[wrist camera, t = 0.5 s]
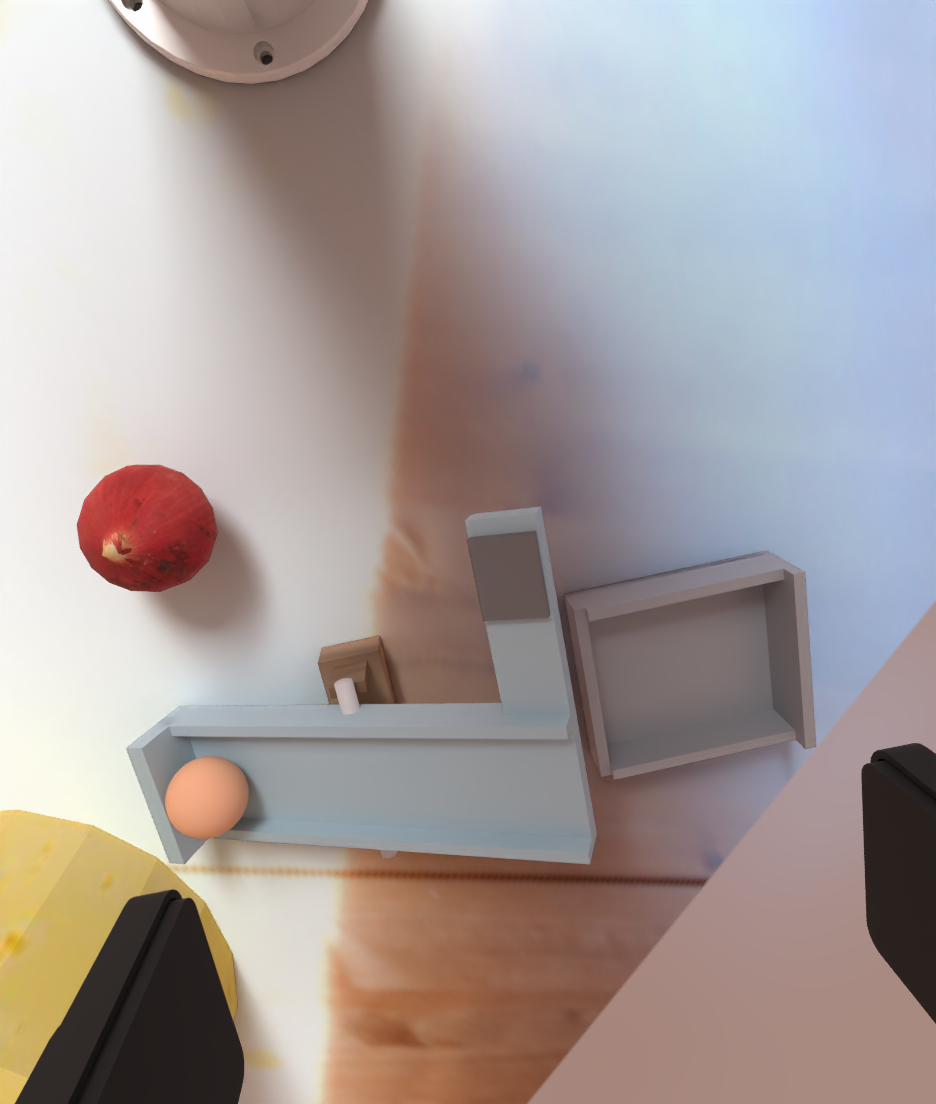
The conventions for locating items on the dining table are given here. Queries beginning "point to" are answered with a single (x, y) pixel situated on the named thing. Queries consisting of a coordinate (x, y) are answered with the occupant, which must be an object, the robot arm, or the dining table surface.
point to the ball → (206, 797)
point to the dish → (693, 663)
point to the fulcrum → (357, 670)
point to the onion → (146, 528)
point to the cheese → (67, 925)
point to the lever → (413, 742)
